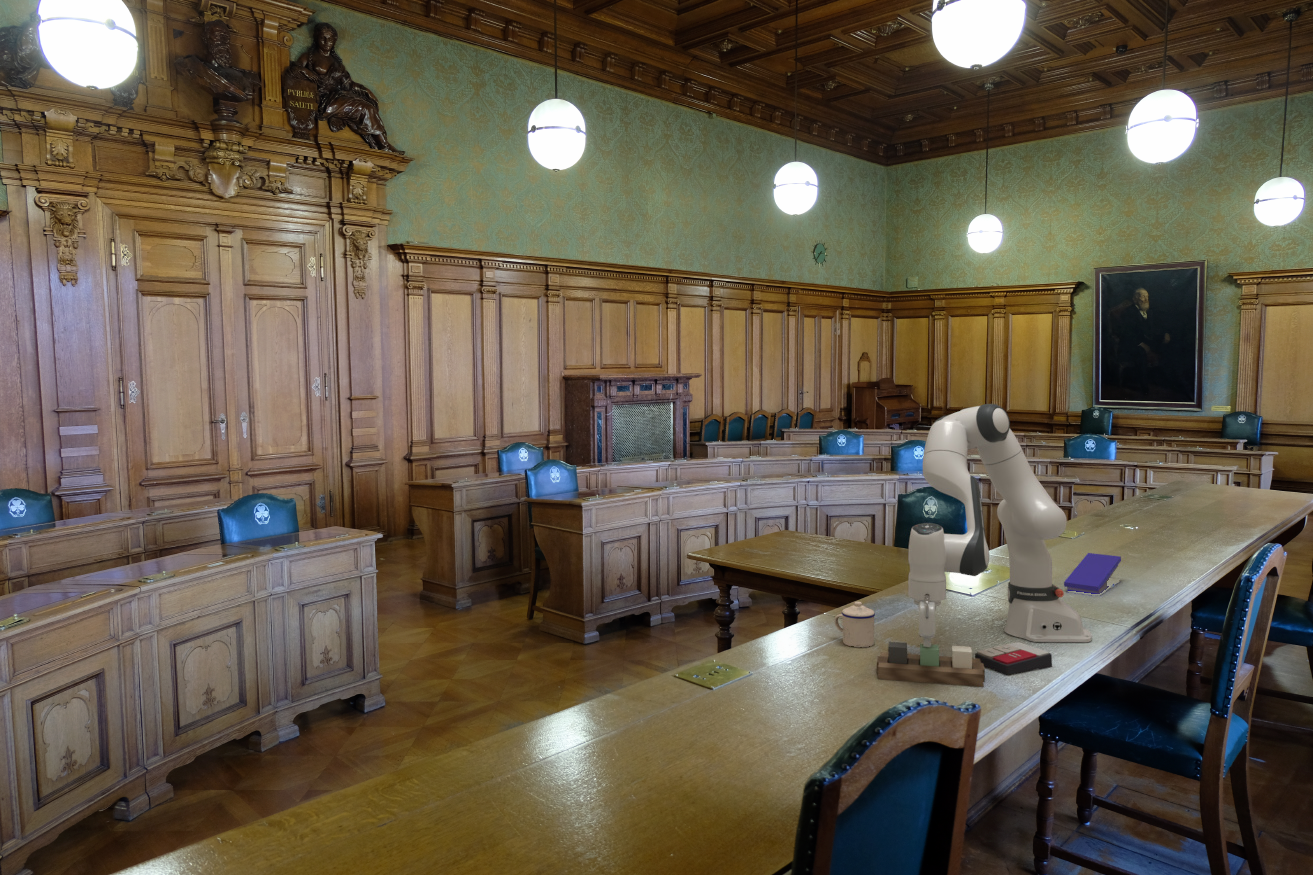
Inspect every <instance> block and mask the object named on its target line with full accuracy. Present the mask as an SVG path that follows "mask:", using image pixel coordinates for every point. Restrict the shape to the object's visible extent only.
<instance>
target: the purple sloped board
mask: <svg viewBox="0 0 1313 875" xmlns="http://www.w3.org/2000/svg"><path fill="white" fill-rule="evenodd" d="M1121 561H1122V557H1121V556H1119V555H1112V554H1111V555H1110V554H1101V553H1091V552H1087V554H1086V555H1085V556H1084V557H1083V559H1082V560H1081V561H1080V562H1079V563H1078V564H1077V566H1076V567H1075V568H1074V570H1073V571H1072V572H1071V573H1070V574H1069V575H1068V577H1067V578H1066V579H1065V581H1063V586H1064V588H1066V590H1067V591H1076V592H1084V593H1091V594H1100V593H1102V592H1103V591H1104V590H1106V589H1107V588H1108V587H1109V586H1107V581H1108V580H1109V578H1112V576H1113V574H1114V573H1115V571H1116V570H1117V569H1118V567H1119V564H1120V563H1121Z"/></svg>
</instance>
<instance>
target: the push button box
mask: <svg viewBox="0 0 1313 875" xmlns="http://www.w3.org/2000/svg"><path fill="white" fill-rule="evenodd" d="M1052 655H1053V654H1052V653H1050V652H1048V651H1047V650H1043V649H1040V648H1038V647H1034V646H1031V645H1029V644H1025V643H1022V642H1019V641H1017V642H1013V643H1008V644H1007V643H1006V644H1002V645H997V646H993V647H989V648H984V649H982V650H977V652H976V653H974V658H977V659H980V661H981V663H983V665H984V668H986V669H989V670H991V671H993V672H996V673H998V674H1001V675H1004V676H1008V677H1009V676H1014V675H1018V674H1023V673H1028V672H1032V671H1035V670H1044V669H1048V668H1049V669H1050V668H1053V660H1052V659H1053V658H1052V657H1053V656H1052Z"/></svg>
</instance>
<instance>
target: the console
mask: <svg viewBox="0 0 1313 875" xmlns="http://www.w3.org/2000/svg"><path fill="white" fill-rule="evenodd" d="M876 658H877V659H876V675H878V680H887V681H900V682H901V681H902V682H915V683H927V684H939V685H940V684H942V685H954V686H966V687H967V686H968V687H976V688H977V687H981V688H984V686H985V685H984V683H985V682H986V681H985V680H986V679H985V673H986V672H985V667H984V665H983V663H981V661H980V659H977V658H975V657H972V669H965V668H952V656H946V655H939V667H937V666H923V665H920V654H915V653H914V654H912V653H907V664H895V663H889V659H888V651H887V652H884V651H883V652H882V651H880V652H879V655H877V657H876Z"/></svg>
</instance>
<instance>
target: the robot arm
mask: <svg viewBox="0 0 1313 875" xmlns="http://www.w3.org/2000/svg"><path fill="white" fill-rule="evenodd" d="M1010 425H1011V422H1010V417H1009V414H1008V412H1007V411H1006V410H1005V409H1004V408H1002V407H1001V406H1000V405H998V404H997V403H985V404H981V405H977V406H972V407H967V408H963V409H961V410H960V411H957V412H954V413H951V414H948V415H943V416H941V417H939V418H937V419H936V420H935V421H934V422H933V423H932V425H931V427H930V429H929V431H928V434H927V438H926V441H925V445H924V450H923V455H922V456H923V457H922V475H923V478H924V480H925V481H926V482H927V483H928V484H929V486H931V487H932V488H934V489H935V490H937V491H938V492H940V493H943V494H945V495H947V496H950V497H953V498H955V499H956V500H958V501H960V502H961V503H963V504H964V507H965V509H964V510H965V518H966V529H967V532H966V533H964V534H955V533H954V534H953V533H952V534H951V533H945V532H944V528H943V527H942V526H941V525H940V524H936V523H933V522H923V523H918V524H915V525H913V526H912V527H911V530H910V535H909V541H908V546H907V547H908V548H907V551H908V554H907V555H908V556H907V557H908V564H909V573H908V582H907V583H908V597H909V598H910V599H913V604H914V605H916V606H918V634H919V637H920V638H922V639H923V640H922V642H923V643H922V644H923V645H924V647H931V644H932V639H934V638H935V637H936V609H937V607H939V606H940V605H941V603H942V602H941V601H944V600H946V599H947V576H946V573H953V574H954V573H955V574H961V575H965V576H970V577H977V576H978V575H981V574H982V573H983V572H985V571H986V570H987V569H988V568H989V564H990V550H989V547H988V543H987V539H986V538H987V536H986V530H985V521H984V513H983V512H984V511H983V504H982V497H981V496H982V495H981V491H980V486H979V482H978V480H977V478H976V477H975V476H973V475H971V474H970V472H969V470H968V465H967V464H968V450H972V449H977V451H978V452H977V453H978V455H979V457H980V460H981V463H982V465H983V466H984V469H985V471H986V474H987V475H988V477H989V480H990V481H991V484H992V486H993V487H994V489H995V491H996V492H997V493H998V494H999V495H1000V496H1001V497H1002V500H1001V501H1000V503H999V504H998V506H997V510H996V515H997V518H998V521H999V522H1000V523H1001V526H1002V529H1003V533H1004V537H1005V542H1006V546H1007V550H1008V559H1009V561H1008V562H1009V582H1008V583H1007V585H1008V586H1007V600H1008V608H1007V617H1006V622H1005V626H1004V628H1003V631H1004V632H1005V633H1006V634H1008V635H1011V636H1014V637H1015V638H1017V637H1018V638H1020V639H1024V640H1027V641H1030V642H1034V643H1089V642H1091V641H1092V640H1093V636H1092V633H1091V631H1090V630H1089V629H1087V628H1086V627H1084V626H1083V621H1082V618H1081V615H1080V614H1079V613H1078V611H1076V609H1074V608H1073V607H1072V606H1070V605H1069V604H1068V603H1067V602H1065V601H1064V600H1062V599H1061V598H1063V596H1065V593H1064V591H1063V590H1062V589H1061V588H1059V587H1058V586H1057V585H1054V584H1053V558H1052V556H1051V553H1050V551H1049V550H1048V548H1047V547H1048V546H1047V544H1046V540H1054V539H1056V538H1058V537H1060V536H1061V535H1063V533H1064V532H1065V531H1066V529H1067V528H1066V527H1067V520H1068V519H1067V516H1066V514H1065V512H1064V511H1063V509H1062V508H1060V507H1059V506H1058V505H1057V504H1056V503H1055V501H1054V500H1053V499H1052V497H1051V496H1050V494H1048V492H1047V490H1046V489H1045V488H1044V486H1043V485H1042V484H1041V483H1040V481H1039V479H1038V478H1037V476H1036V475H1035V473H1034V472H1033V469H1032V467H1031V466H1030V463H1029V461H1028V459H1027V457H1026V455H1025V453H1024V451H1023V449H1022V447H1021V444H1020V441H1018V439H1017V437H1016V435H1015V434H1014V432H1013V431H1012V429H1011V428H1010V427H1011V426H1010Z"/></svg>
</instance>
